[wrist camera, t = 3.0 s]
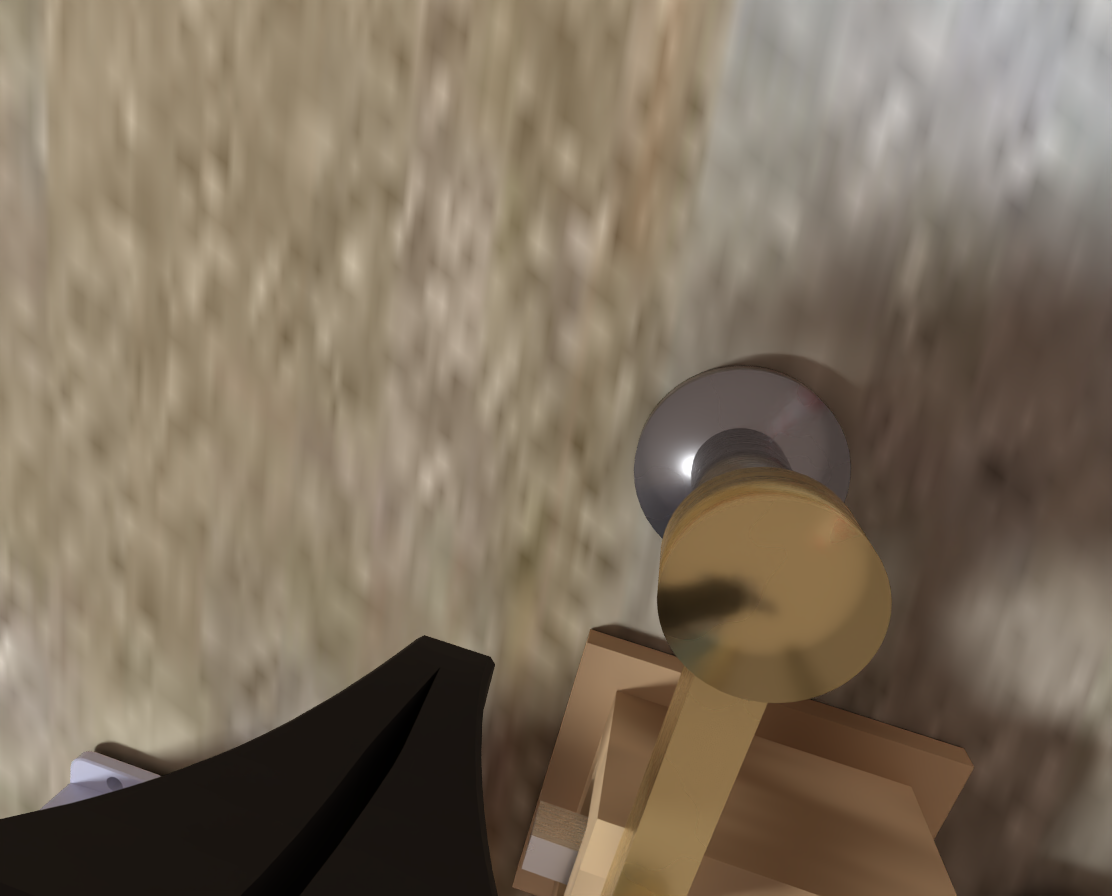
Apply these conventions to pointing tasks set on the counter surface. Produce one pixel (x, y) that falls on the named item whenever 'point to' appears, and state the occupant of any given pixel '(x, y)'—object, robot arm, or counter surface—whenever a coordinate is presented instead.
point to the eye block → (755, 790)
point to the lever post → (735, 436)
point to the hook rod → (554, 842)
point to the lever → (744, 649)
